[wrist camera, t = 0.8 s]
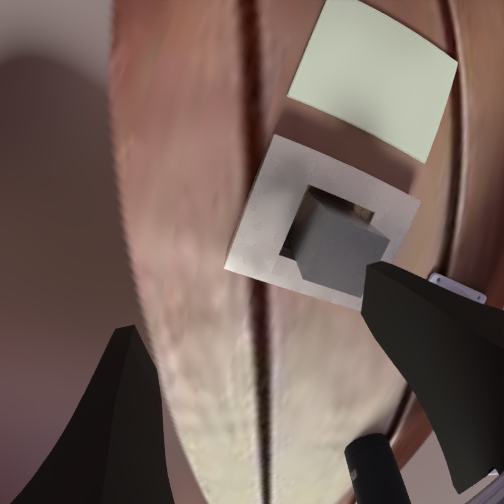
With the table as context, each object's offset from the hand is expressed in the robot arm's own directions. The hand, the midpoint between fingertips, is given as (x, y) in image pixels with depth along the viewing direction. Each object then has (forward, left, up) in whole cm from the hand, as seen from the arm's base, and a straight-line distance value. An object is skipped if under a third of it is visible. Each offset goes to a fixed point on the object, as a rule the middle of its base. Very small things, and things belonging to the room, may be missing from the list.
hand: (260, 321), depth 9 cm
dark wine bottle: (-27, +26, -15) cm, 40 cm away
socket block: (-6, 0, -15) cm, 16 cm away
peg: (-6, 0, -15) cm, 16 cm away
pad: (-6, -13, -15) cm, 21 cm away
